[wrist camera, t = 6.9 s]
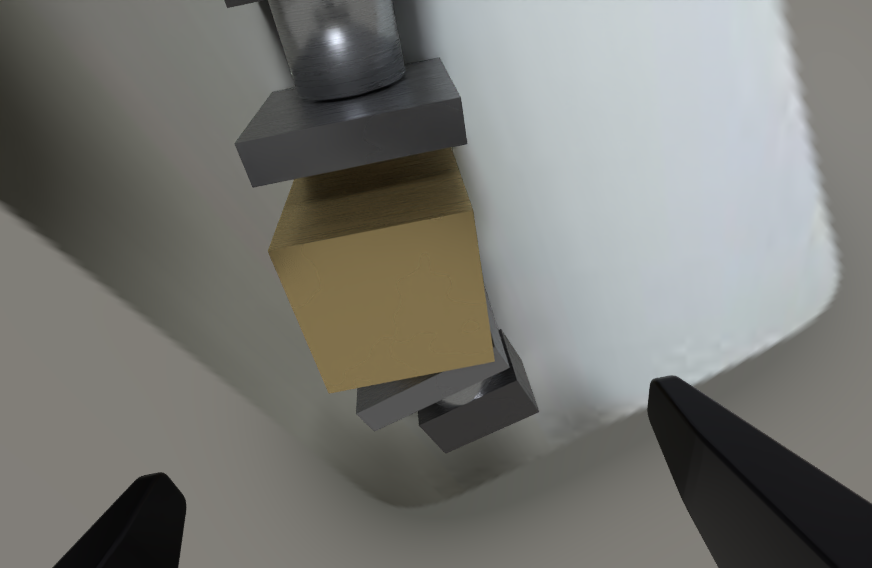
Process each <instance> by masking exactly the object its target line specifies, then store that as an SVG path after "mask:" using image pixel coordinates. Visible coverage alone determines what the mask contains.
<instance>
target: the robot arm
mask: <svg viewBox="0 0 872 568" xmlns="http://www.w3.org/2000/svg"><path fill="white" fill-rule="evenodd" d="M647 411H648V417H649V420H650V423H651V426H652V428H653V431H654V433H655V435H656V438H657V440H658V442H659V445H660V447H661V450H662V452H663V455H664V457H665V460H666V462H667V465H668V467H669V469H670V472H671V474H672V476H673V479H674V481H675V484H676V486H677V489H678V491H679V493H680V496H681V498H682V500H683V502H684V504H685V506H686V508H687V510H688V512H689V514H690V516H691V518H692V520H693V521H694V523H695V525H696V527H697V529H698V531H699V533H700V534H701V536H702V538H703V540H704V542H705V544H706V545H707V547H708V549H709V551H710V553H711V555H712V556H713V558H714V560H715V562H716V564H717V566H718V568H872V503H870V502H868V501H867V500H865V499H864V498H862V497H861V496H859V495H858V494H856V493H855V492H853V491H852V490H850V489H849V488H847V487H845V486H844V485H843V484H841V483H839V482H838V481H836V480H835V479H833V478H832V477H830V476H829V475H827V474H825V473H824V472H823V471H821V470H820V469H818V468H817V467H815V466H813V465H812V464H810V463H809V462H807V461H806V460H804V459H803V458H801V457H800V456H798V455H797V454H795V453H793V452H792V451H790V450H789V449H787V448H786V447H784V446H783V445H781V444H780V443H778V442H777V441H775V440H774V439H772V438H771V437H769V436H768V435H766V434H765V433H763V432H761V431H760V430H758V429H757V428H755V427H754V426H752V425H751V424H749V423H748V422H746V421H745V420H743V419H742V418H740V417H739V416H737V415H735V414H734V413H732V412H731V411H729V410H728V409H726V408H724V407H723V406H722V405H720V404H719V403H717V402H715V401H714V400H713V399H711V398H709V397H708V396H706V395H705V394H703V393H702V392H700V391H699V390H697V389H696V388H694V387H693V386H691V385H690V384H688V383H687V382H685V381H684V380H682V379H680V378H679V377H677V376H673V375H672V376H665V377H660V378H655V379H653V380H652V381H651V383H650V389H649V398H648V408H647ZM185 515H186V500H185V498H184V496H183V494H182V493H181V492H180V490H179V489H178V488H177V487H176V486H175V484H174V483H173V482H172V480H171V479H170V478H169V477H168V476H167V475H166V474H165V473H162V472H160V473H154V474H149V475H144V476H141V477H139V478H138V479H136V480H135V481H134V482H133V483H132V484H131V485H130V487H128V489H127V490H126V491H125V492H124V493H123V494H122V495H121V496H120V497H119V498H118V499H117V500H116V501H115V502H114V503H113V505H111V506H110V508H109V509H108V510H107V511H106V512H105V513H104V514H103V515H102V516H101V517H100V518H99V519H98V520H97V521H96V522H95V523H94V524H93V525H92V526H91V528H90V529H89V530H88V531H87V532H86V533H85V534H84V535H83V536H82V537H81V538H80V539H79V540H78V541H77V542H76V543H75V545H74V546H72V547H71V549H70V550H69V551H68V552H67V553H66V554H65V555H64V556H63V557H62V558H61V559H60V560H59V561H58V562H57V563H56V564H55V565H54V567H52V568H178V565H179V558H180V551H181V543H182V537H183V529H184V522H185Z"/></svg>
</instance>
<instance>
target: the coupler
mask: <svg viewBox="0 0 872 568" xmlns="http://www.w3.org/2000/svg"><path fill="white" fill-rule="evenodd" d="M268 253H269V255H270V257H271V260H272V262H273V264H274V267H275V269H276V271H277V274H278V276H279V278H280V281H281V283H282V285H283V288H284V290H285V292H286V295H287V297H288V299H289V302H290V304H291V306H292V309H293V311H294V313H295V316H296V318H297V320H298V323H299V325H300V327H301V330H302V332H303V334H304V337H305V339H306V341H307V344H308V346H309V348H310V351H311V353H312V355H313V358H314V360H315V362H316V365H317V367H318V369H319V372H320V374H321V376H322V379H323V381H324V383H325V386H326V388H327V390H328V393H334V392H339V391H345V390H350V389H355V388H360V387H365V386H371V385H376V384H381V383H386V382H391V381H396V380H402V379H407V378H412V377H417V376H422V375H428V374H433V373H438V372H443V371H448V370H454V369H459V368H464V367H469V366H474V365H480V364H485V363H490V362H495V359H494V352H493V345H492V338H491V332H490V325H489V318H488V311H487V304H486V297H485V290H484V283H483V276H482V269H481V262H480V255H479V248H478V241H477V234H476V227H475V220H474V213H473V209H472V206H471V203H470V200H469V197H468V195H467V192H466V189H465V186H464V183H463V180H462V177H461V175H460V172H459V169H458V166H457V163H456V160H455V158H454V155H453V152H452V149H451V147H450V148H445V149H440V150H435V151H430V152H425V153H420V154H415V155H410V156H406V157H401V158H396V159H391V160H386V161H381V162H376V163H371V164H366V165H361V166H356V167H351V168H346V169H341V170H337V171H332V172H327V173H322V174H317V175H312V176H307V177H302V178H297V179H294V181H293V184H292V187H291V190H290V192H289V195H288V198H287V200H286V203H285V206H284V209H283V211H282V214H281V217H280V220H279V222H278V225H277V228H276V230H275V233H274V236H273V239H272V241H271V244H270V247H269V249H268Z"/></svg>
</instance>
